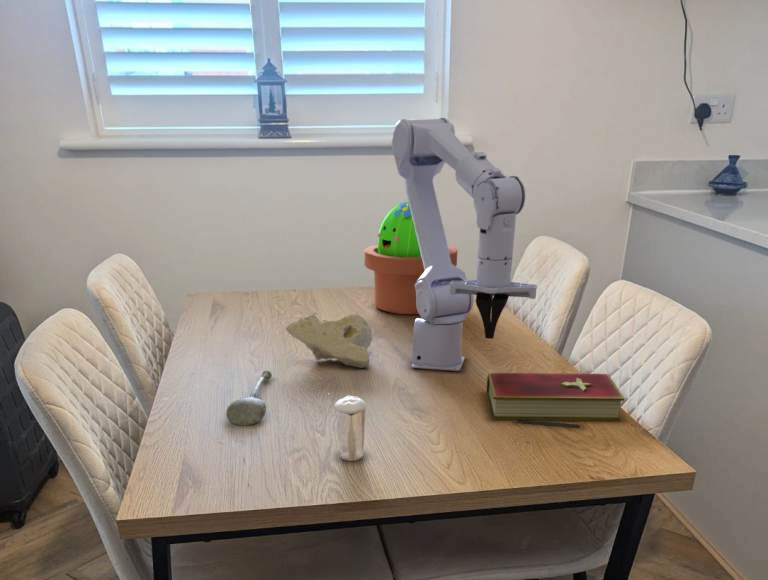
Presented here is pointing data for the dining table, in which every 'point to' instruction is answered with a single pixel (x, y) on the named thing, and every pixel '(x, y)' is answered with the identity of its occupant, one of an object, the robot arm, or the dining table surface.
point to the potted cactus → (397, 262)
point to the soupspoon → (248, 406)
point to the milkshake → (350, 426)
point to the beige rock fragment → (335, 338)
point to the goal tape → (549, 423)
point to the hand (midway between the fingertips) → (489, 337)
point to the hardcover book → (553, 397)
